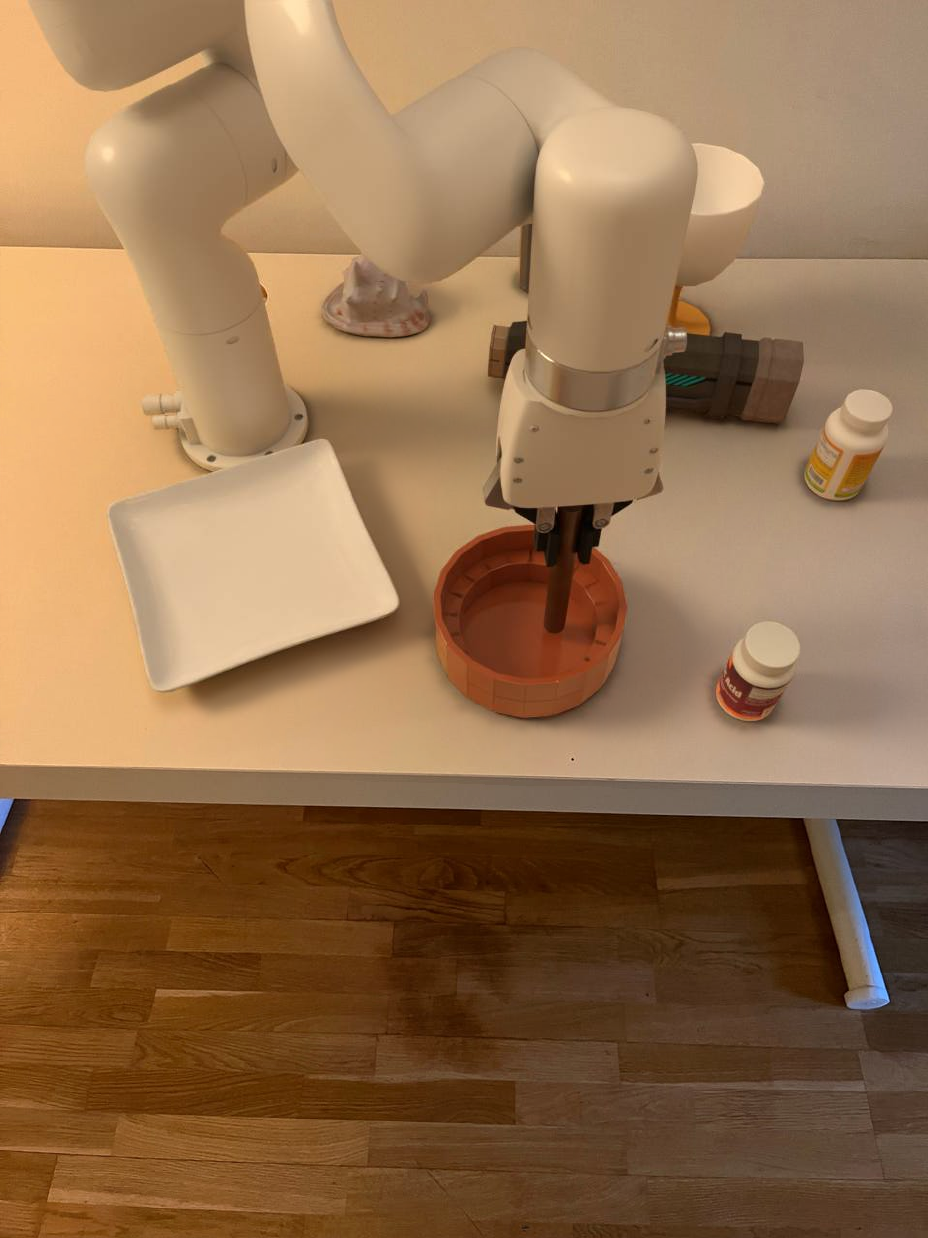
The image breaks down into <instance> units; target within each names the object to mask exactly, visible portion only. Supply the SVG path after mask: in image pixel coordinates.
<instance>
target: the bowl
mask: <svg viewBox="0 0 928 1238" xmlns="http://www.w3.org/2000/svg"><path fill="white" fill-rule="evenodd" d="M534 527H535V524H525V525H524V524H523V525H510V526H502V527H499V528H497V529H494V530H491V531H488V532H484V533H482V534H478V535H477V536H475V537H474V538H472V539H471V540H469V541H468V542H467V543H465V544H464V545H462V546H461V547H459V548H458V549H456V551H455V552H454V553H452V556H451V557H450V558H449V559H448V561H447V562H446V563H445V565H444V566H443V567H442V568H441V570H440V572H439V575H438V579H437V581H436V584H435V588H434V590H433V594H432V595H433V596H432V600H433V612H434V614H433V615H434V625H435V642H436V654H437V657H438V659H439V661H440V664H441V665H442V668H443V670H444V672H445V674H446V676H447V678H448V679H449V680H450V682H452V684H453V685H454V686H456V688H457V689H458V690H459V691H460V692H461V693H462V694H463V695H464V696H465V697H466V698H468V699H469V700H470V701H473V702H474V703H476V704H479V705H480V706H482V707H484V708H486V709H488V710H490V711H491V712H494V713H497V714H503V715H508V716H512V717H518V718H523V719H525V718H526V719H527V718H538V717H552V716H555V715H558V714H560V713H563V712H566V711H568V710H571V709H573V708H575V707H579V706H580V705H582V704H583V703H584V702H586V701H587V700H588V699H589V698H590V697H591V696H593V695H594V694H595V693H596V692H598V691H599V690H600V689H601V688H602V687H603V685H604V684H605V682H606V680H607V679H608V677H609V675H610V674H611V672H612V671H613V669H614V667H615V665H616V662H617V661H616V660H617V658H618V653H619V648H620V645H621V641H622V637H623V634H624V629H625V622H626V617H627V610H628V602H627V598H626V593H625V588H624V585H623V580H622V579H621V577H620V575H619V574H618V573H617V571H616V570H615V568H614V566H613V565H612V562H610V560H609V559H608V558H607V556H605V554H603V553H602V552H601V551H600V550H598V549H597V547H592V552H591V558H590V563H589V564H585V565H582V563H579V560H578V555H577V554H576V560H575V566H574V572H573V579H572V585H571V591H570V597H569V604H568V610H567V616H566V622H565V628H564V629H563V631H561V632H560V633H556V634H553V633H550V632H548V631H547V630H546V629H545V628H544V625H543V623H544V614H545V606H546V598H547V589H548V581H549V573H550V567H546V562H545V556H544V551H537V552H536V549H535V543H534Z"/></svg>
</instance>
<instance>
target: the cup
mask: <svg viewBox="0 0 928 1238" xmlns="http://www.w3.org/2000/svg"><path fill="white" fill-rule="evenodd" d="M691 144H692V146H693V148H694V151H695V154H696V158H697V166H698V176H697V183H696V190H695V196H694V200H693V205H692V209H691V214H690V219H689V223H688V228H687V232H686V237H685V242H684V246H683V251H682V255H681V260H680V265H679V269H678V274H677V278H676V283H675V288H674V292H673V297H672V301H671V306H670V311H669V315H668V320H667V324H666V326H672V328H683V327H684V328H685V329H686V333H690V334H699V335H709V336H710V334H711V330H712V328H711V325H710V322H709V318H707V316H706V315H705V314H704V313H703V312H702V311H701V310H700V309H699V308H697V307H695V306H694V305H691V304H689V303H688V302H686V301H682V300H680V297H681V294H682V293H681V292H682V289H683V287H696V286H699V285H703V284H705V283H709V282H711V281H713V280H714V279H716V277H718V276H719V275H721V273H722V272H724V271H725V270H726V269H727V268H729V266H731V265H732V264H733V263H734V262H735V260H736V259H737V257H738V255H739V254H740V252H741V250H742V249H743V247H744V244H745V242H746V240H747V237H748V235H749V233H750V230H751V227H753V223H754V220H755V217H756V214H757V211H758V209H759V205H760V202H761V199H762V196H763V194H764V193H763V192H764V189H765V186H766V182H765V180H764V178H763V175H762V173H761V171H760V168H759V167H758V166H757V165H756V164H755V163H754V162H752V161H751V160H750V159H749V158H748V157H746V155H743V154H741V153H739V152H736V151H734V150H732V149H729V148H727V147H725V146H720V145H719V146H718V145H713V144H707V143H701V142H700V143H691Z"/></svg>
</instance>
